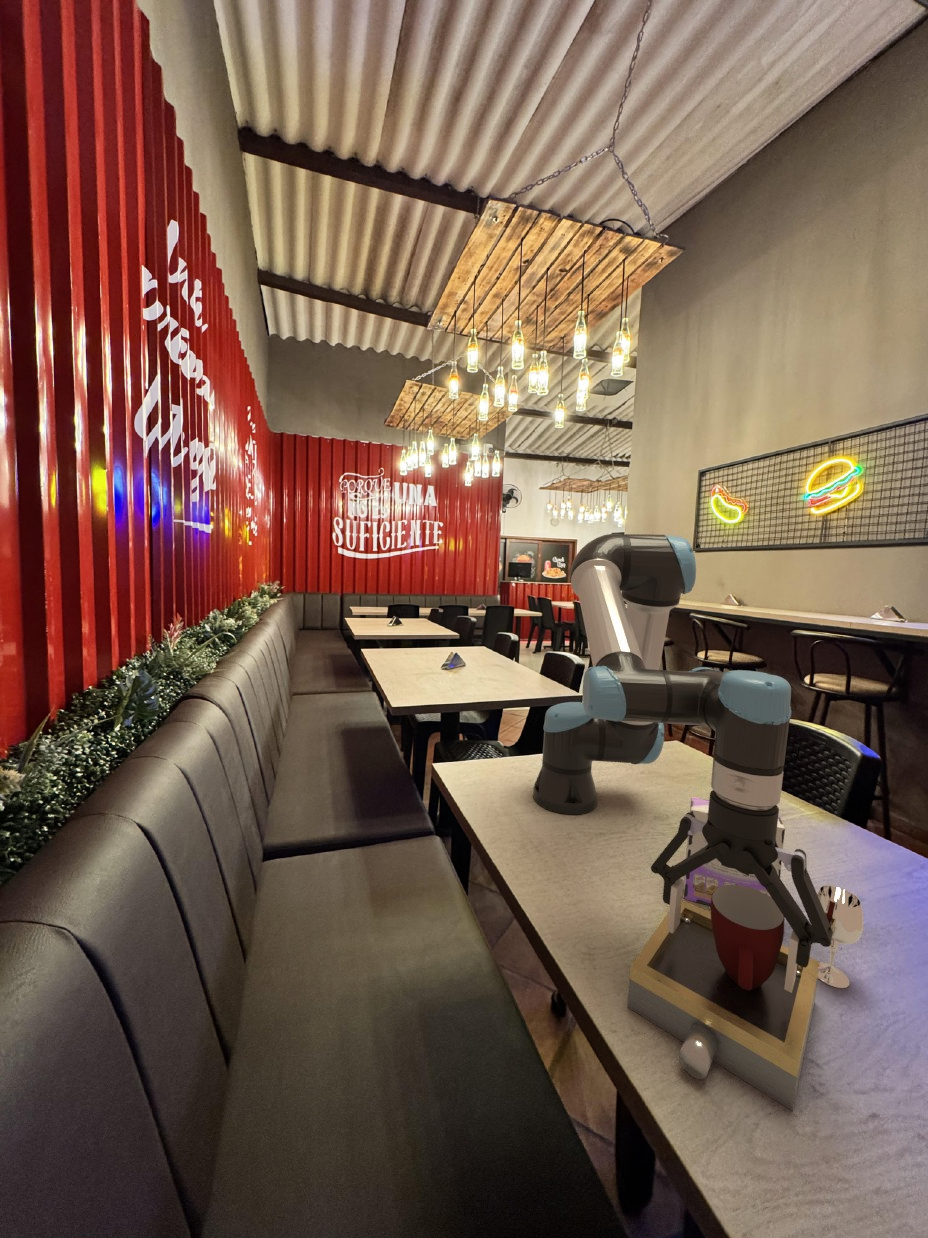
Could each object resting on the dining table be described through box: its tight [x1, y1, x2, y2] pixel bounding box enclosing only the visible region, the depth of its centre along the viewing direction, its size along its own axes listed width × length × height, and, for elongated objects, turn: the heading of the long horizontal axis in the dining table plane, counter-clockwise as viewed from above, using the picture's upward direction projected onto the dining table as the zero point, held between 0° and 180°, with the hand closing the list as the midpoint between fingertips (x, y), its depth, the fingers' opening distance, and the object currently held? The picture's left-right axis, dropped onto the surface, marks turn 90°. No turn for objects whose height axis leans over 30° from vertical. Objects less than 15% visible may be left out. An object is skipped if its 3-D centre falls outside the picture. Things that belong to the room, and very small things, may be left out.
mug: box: [710, 885, 785, 990], centre depth 62 cm, size 10×8×10 cm
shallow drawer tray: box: [627, 899, 821, 1112], centre depth 63 cm, size 18×22×6 cm
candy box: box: [682, 796, 786, 907], centre depth 85 cm, size 14×6×16 cm, turn 66°
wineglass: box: [816, 884, 865, 989], centre depth 70 cm, size 6×6×12 cm
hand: (727, 954), depth 64 cm, fingers open, 13 cm apart
